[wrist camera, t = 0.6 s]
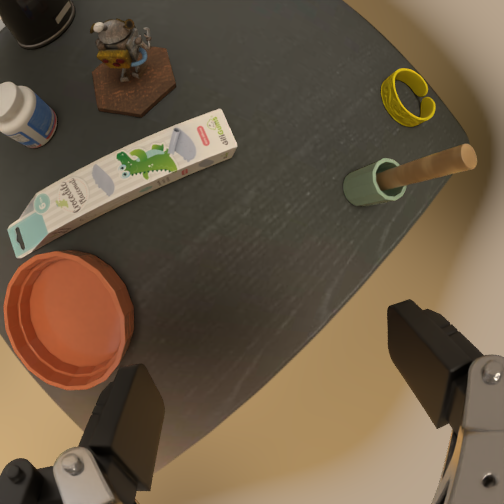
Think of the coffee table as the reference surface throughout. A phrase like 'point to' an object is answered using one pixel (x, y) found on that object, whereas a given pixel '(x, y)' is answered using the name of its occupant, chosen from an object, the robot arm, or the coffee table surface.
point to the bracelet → (395, 105)
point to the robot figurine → (129, 70)
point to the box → (123, 178)
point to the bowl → (68, 318)
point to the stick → (428, 167)
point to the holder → (370, 185)
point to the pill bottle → (25, 116)
